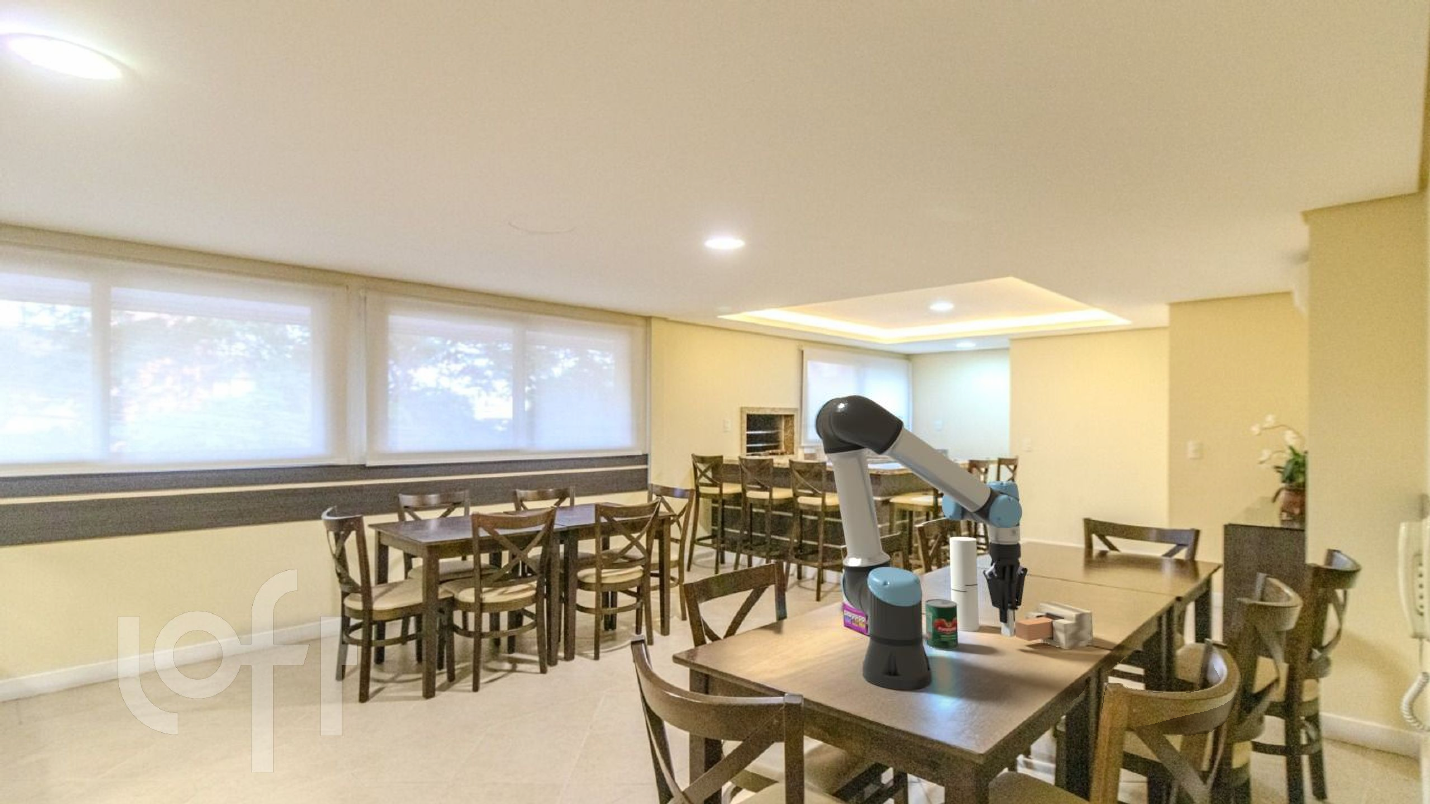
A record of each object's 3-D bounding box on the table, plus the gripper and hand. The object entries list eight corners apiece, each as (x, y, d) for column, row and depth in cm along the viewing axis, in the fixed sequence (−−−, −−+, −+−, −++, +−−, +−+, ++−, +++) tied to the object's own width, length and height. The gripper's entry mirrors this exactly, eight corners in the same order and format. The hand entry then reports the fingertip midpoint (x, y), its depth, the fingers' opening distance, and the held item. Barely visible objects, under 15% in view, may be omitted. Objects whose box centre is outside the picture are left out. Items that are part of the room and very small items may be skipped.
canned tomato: (946, 652, 164) (945, 608, 164) (919, 644, 170) (918, 602, 171) (964, 646, 168) (963, 603, 169) (938, 639, 175) (937, 597, 175)
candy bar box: (881, 634, 180) (880, 573, 180) (867, 636, 177) (865, 575, 178) (856, 623, 190) (855, 566, 191) (842, 625, 188) (841, 568, 189)
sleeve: (1065, 649, 165) (1063, 616, 165) (1026, 636, 176) (1025, 605, 176) (1093, 644, 169) (1091, 611, 169) (1053, 632, 180) (1052, 601, 180)
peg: (1028, 641, 166) (1027, 625, 166) (1015, 636, 169) (1015, 621, 170) (1057, 636, 169) (1056, 620, 170) (1044, 632, 173) (1043, 616, 173)
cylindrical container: (983, 631, 181) (980, 540, 182) (957, 631, 181) (954, 540, 183) (973, 624, 188) (970, 536, 190) (948, 624, 188) (946, 536, 190)
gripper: (996, 545, 161) (999, 642, 160) (1035, 542, 166) (1039, 636, 165) (973, 541, 168) (977, 634, 167) (1012, 538, 173) (1015, 628, 172)
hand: (1007, 635), depth 166 cm, fingers closed
